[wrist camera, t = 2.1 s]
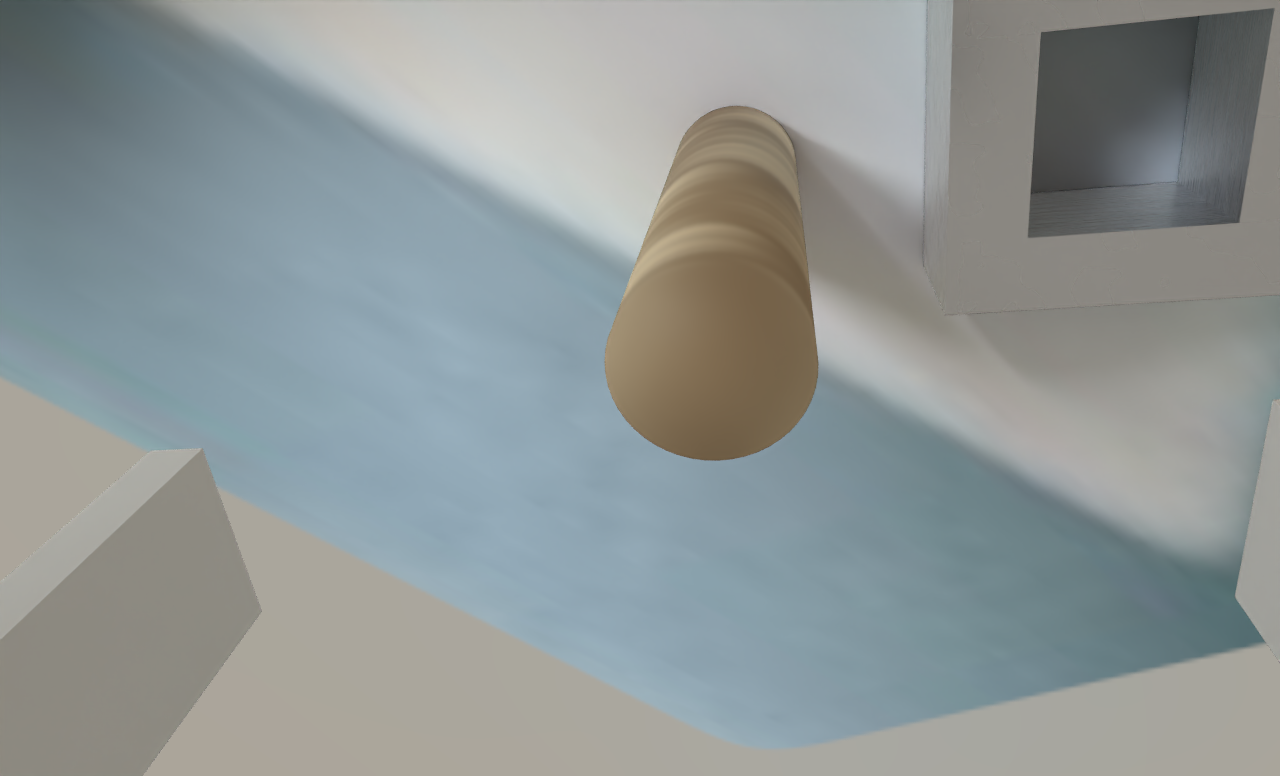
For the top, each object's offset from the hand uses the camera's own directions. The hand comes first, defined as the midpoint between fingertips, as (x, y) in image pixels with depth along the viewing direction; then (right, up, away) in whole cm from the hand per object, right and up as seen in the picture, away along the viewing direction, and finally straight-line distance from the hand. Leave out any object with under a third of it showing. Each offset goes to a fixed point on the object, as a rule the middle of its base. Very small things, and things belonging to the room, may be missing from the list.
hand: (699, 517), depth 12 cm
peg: (+2, +8, +16) cm, 19 cm away
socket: (+12, +10, +14) cm, 21 cm away
